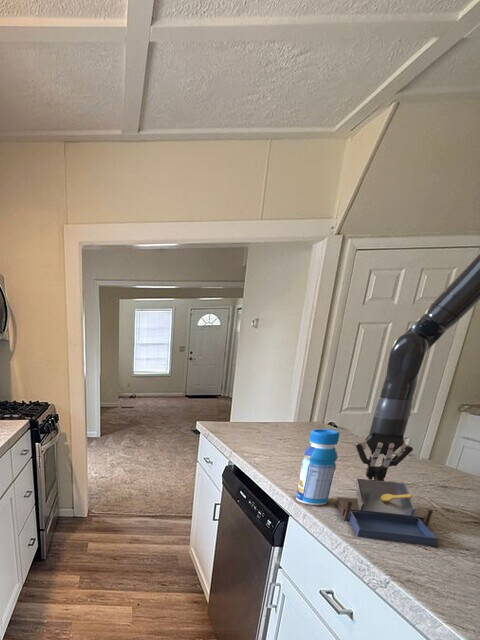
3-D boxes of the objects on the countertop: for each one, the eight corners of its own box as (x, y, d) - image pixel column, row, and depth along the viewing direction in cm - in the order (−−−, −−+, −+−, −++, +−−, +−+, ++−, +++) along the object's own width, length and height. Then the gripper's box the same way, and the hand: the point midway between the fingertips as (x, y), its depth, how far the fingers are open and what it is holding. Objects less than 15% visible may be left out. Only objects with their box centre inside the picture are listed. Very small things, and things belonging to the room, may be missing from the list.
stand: (409, 511, 107) (415, 493, 105) (426, 530, 96) (433, 510, 94) (335, 503, 113) (339, 486, 111) (344, 520, 102) (348, 501, 100)
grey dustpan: (396, 475, 110) (400, 468, 109) (411, 516, 97) (415, 509, 96) (351, 471, 114) (353, 464, 112) (359, 511, 101) (362, 503, 100)
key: (380, 494, 104) (380, 495, 104) (380, 500, 102) (380, 501, 102) (410, 492, 100) (411, 493, 100) (411, 498, 98) (411, 499, 98)
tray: (416, 525, 99) (419, 518, 98) (435, 546, 88) (438, 538, 88) (347, 517, 104) (349, 510, 103) (357, 536, 93) (359, 529, 93)
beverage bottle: (314, 508, 110) (329, 435, 102) (288, 498, 117) (300, 430, 109) (334, 503, 113) (350, 432, 105) (308, 494, 120) (321, 427, 112)
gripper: (417, 414, 105) (399, 477, 112) (357, 412, 110) (343, 473, 116) (428, 419, 99) (408, 486, 105) (364, 416, 103) (348, 480, 110)
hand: (374, 479), depth 111 cm, fingers closed on grey dustpan
